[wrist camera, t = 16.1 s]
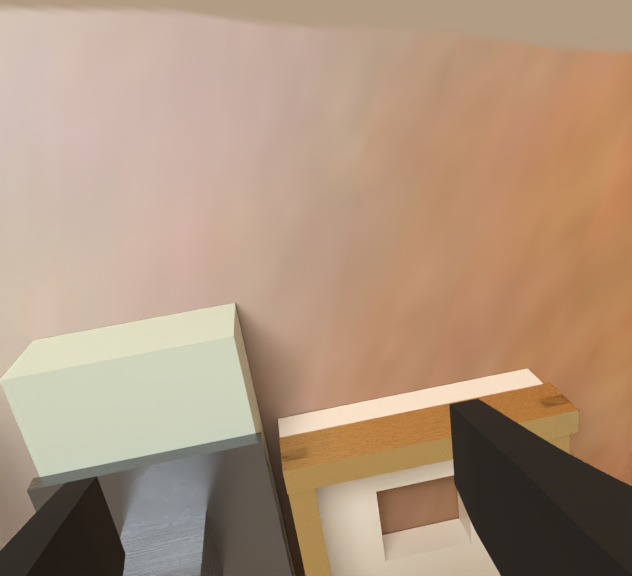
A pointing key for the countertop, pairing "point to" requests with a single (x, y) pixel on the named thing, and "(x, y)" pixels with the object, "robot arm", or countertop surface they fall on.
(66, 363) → the square cutout plate
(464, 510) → the socket block
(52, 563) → the robot arm
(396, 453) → the gold rectangular frame
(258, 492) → the peg
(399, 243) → the countertop surface
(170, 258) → the countertop surface
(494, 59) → the countertop surface
